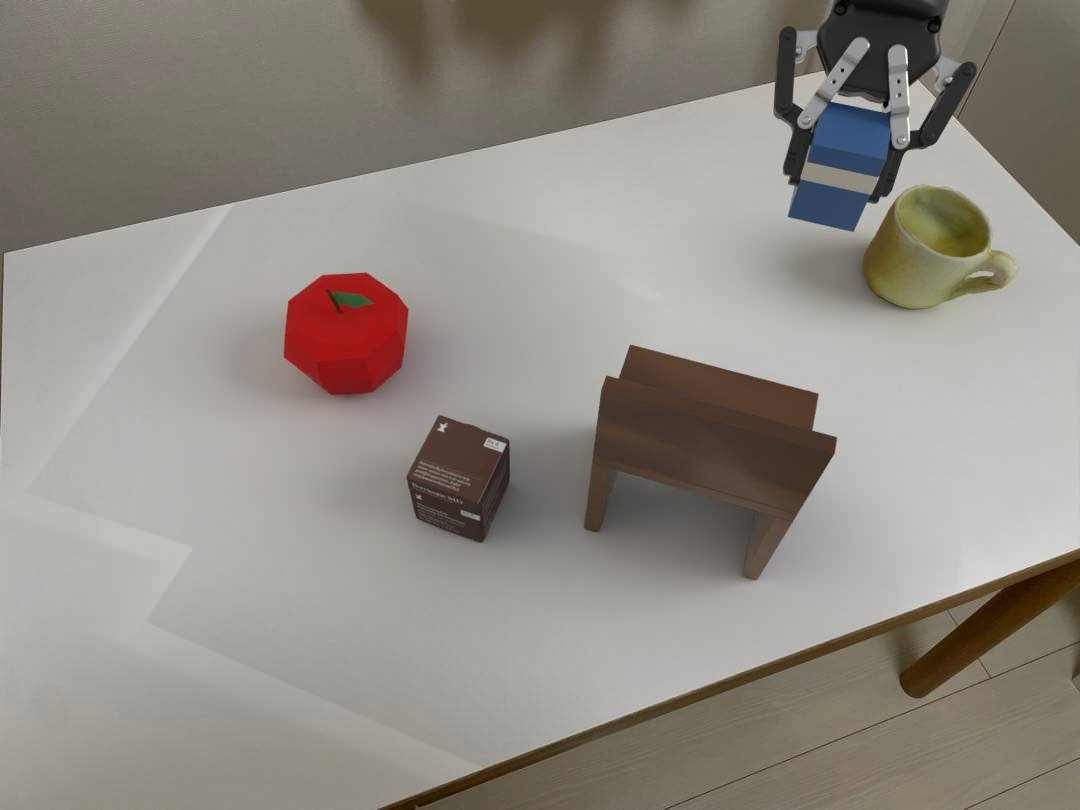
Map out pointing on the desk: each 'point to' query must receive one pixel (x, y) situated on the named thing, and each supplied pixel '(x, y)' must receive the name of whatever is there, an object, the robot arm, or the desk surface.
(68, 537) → the desk surface
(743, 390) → the chair
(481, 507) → the box
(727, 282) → the desk surface
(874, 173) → the carton
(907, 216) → the mug
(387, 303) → the apple
